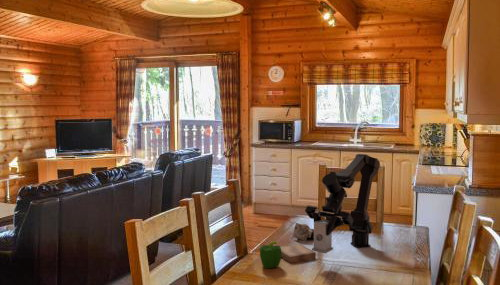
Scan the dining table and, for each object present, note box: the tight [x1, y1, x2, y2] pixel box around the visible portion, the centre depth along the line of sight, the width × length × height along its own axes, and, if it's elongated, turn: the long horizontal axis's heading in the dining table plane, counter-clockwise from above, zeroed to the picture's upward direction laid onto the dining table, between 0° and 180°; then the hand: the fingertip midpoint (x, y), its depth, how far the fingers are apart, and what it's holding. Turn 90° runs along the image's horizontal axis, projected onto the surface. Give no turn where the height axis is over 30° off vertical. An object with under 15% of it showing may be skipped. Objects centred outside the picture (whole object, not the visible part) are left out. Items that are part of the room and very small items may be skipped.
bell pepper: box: [259, 241, 282, 269], centre depth 189 cm, size 8×8×10 cm
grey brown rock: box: [292, 222, 314, 242], centre depth 226 cm, size 7×11×10 cm
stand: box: [280, 243, 317, 264], centre depth 201 cm, size 12×12×3 cm
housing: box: [311, 218, 334, 254], centre depth 188 cm, size 6×6×11 cm
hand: (320, 233), depth 186 cm, fingers closed on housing, 5 cm apart
